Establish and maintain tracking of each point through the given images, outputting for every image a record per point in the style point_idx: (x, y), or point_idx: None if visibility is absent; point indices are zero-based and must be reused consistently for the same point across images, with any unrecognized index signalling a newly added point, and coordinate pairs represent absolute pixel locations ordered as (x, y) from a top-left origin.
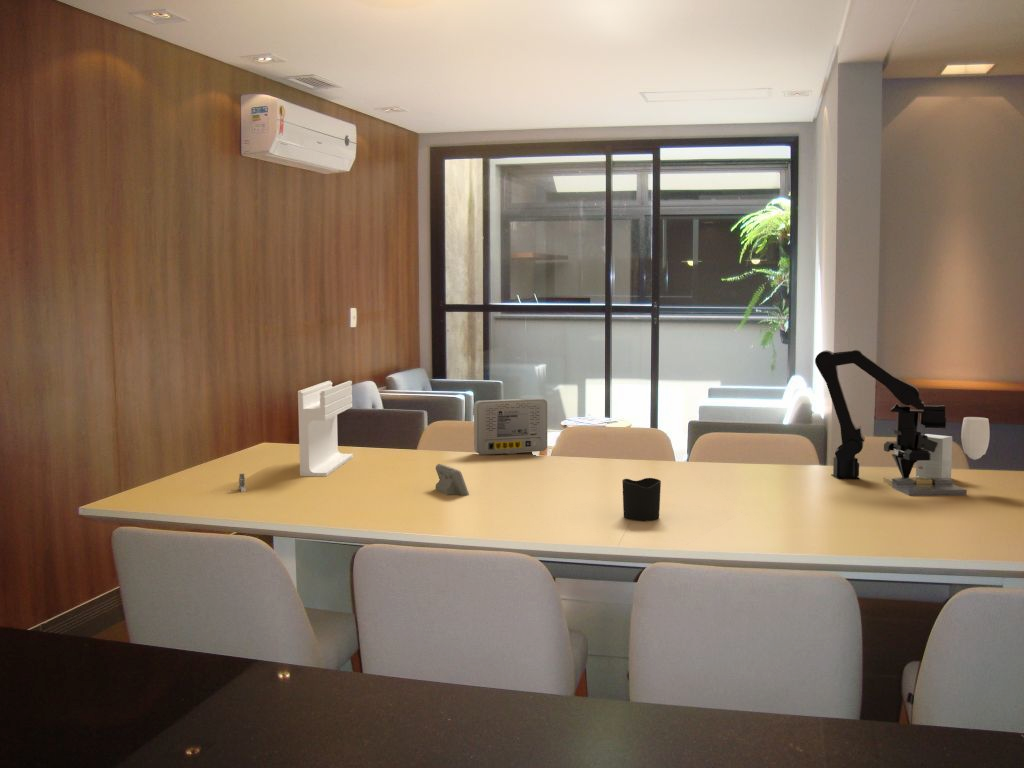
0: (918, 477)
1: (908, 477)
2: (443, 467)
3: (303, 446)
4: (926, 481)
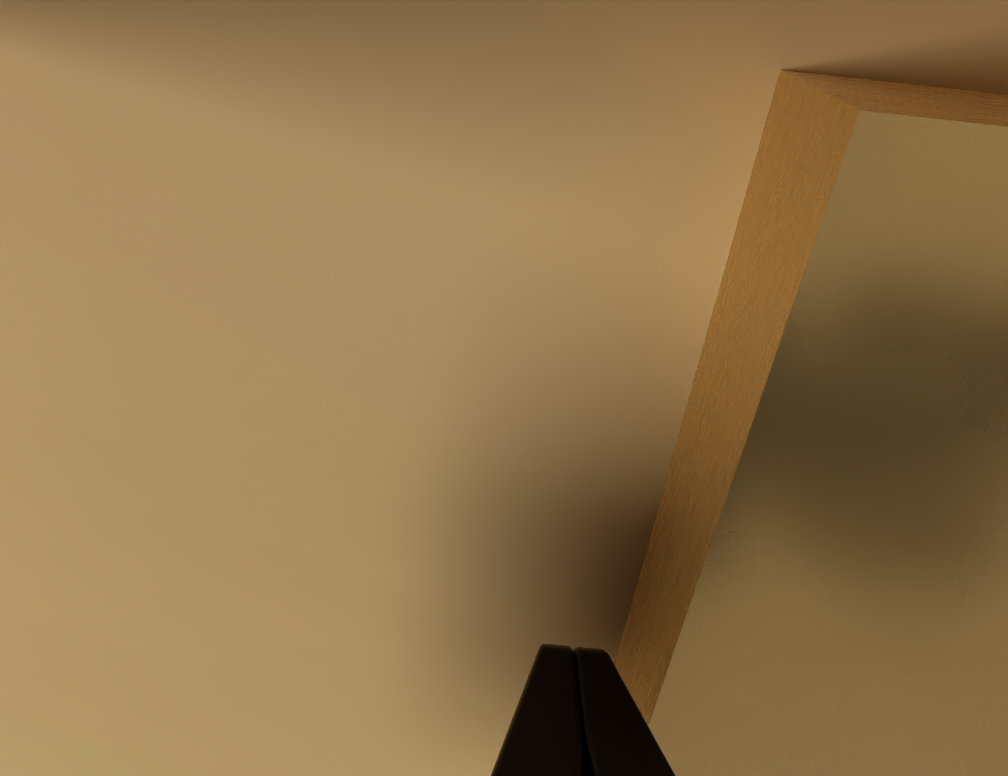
0: (735, 521)
1: (651, 708)
2: None
3: None
4: None
